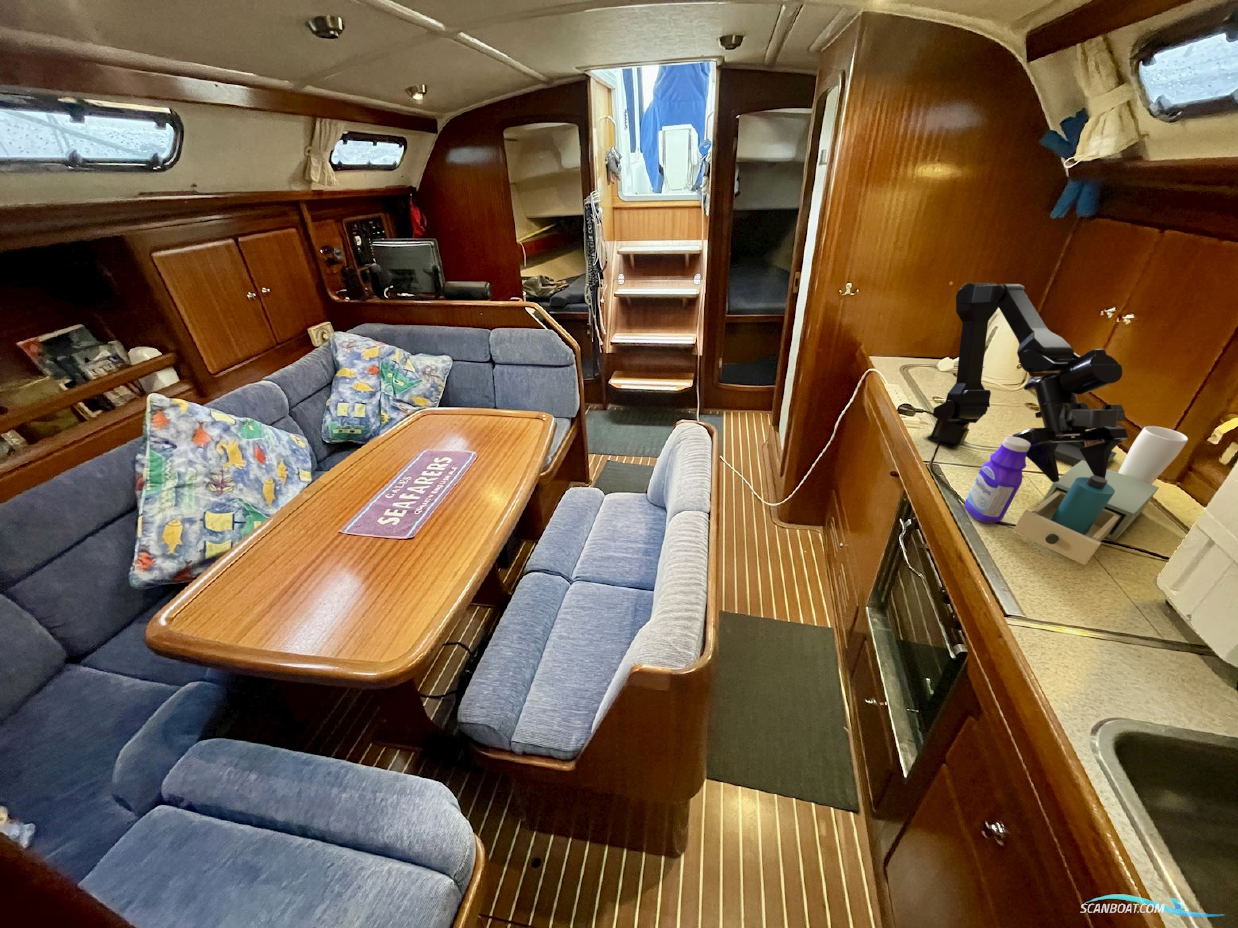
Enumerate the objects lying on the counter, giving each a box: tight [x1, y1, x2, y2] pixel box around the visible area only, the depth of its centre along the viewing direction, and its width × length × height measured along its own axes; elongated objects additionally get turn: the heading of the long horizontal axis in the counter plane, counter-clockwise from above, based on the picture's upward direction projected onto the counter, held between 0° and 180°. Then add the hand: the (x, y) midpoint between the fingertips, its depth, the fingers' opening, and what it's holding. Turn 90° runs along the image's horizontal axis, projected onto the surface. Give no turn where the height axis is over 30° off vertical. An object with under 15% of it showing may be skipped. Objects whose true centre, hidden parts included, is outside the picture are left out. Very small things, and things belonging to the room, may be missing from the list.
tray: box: [1052, 437, 1118, 467], centre depth 119 cm, size 11×11×2 cm
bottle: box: [964, 435, 1031, 524], centre depth 95 cm, size 7×6×17 cm
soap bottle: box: [1051, 476, 1115, 535], centre depth 91 cm, size 6×6×11 cm
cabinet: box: [1041, 460, 1160, 541], centre depth 99 cm, size 16×13×7 cm
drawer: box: [1012, 490, 1121, 566], centre depth 92 cm, size 16×11×5 cm
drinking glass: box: [1117, 425, 1189, 485], centre depth 103 cm, size 7×7×15 cm
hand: (1078, 480), depth 91 cm, fingers open, 9 cm apart
